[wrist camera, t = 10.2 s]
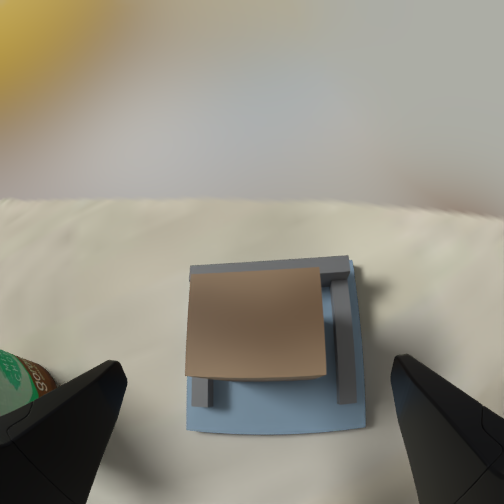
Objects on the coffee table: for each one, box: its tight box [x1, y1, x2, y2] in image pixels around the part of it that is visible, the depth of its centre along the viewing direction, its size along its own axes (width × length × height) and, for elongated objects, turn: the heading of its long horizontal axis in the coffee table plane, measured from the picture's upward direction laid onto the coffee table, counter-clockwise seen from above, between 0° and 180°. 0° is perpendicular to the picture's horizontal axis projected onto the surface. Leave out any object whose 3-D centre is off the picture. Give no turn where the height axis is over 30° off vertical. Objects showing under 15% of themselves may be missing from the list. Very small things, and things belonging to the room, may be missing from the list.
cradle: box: [187, 255, 366, 434], centre depth 17 cm, size 11×11×3 cm
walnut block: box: [185, 267, 326, 382], centre depth 14 cm, size 4×5×8 cm
